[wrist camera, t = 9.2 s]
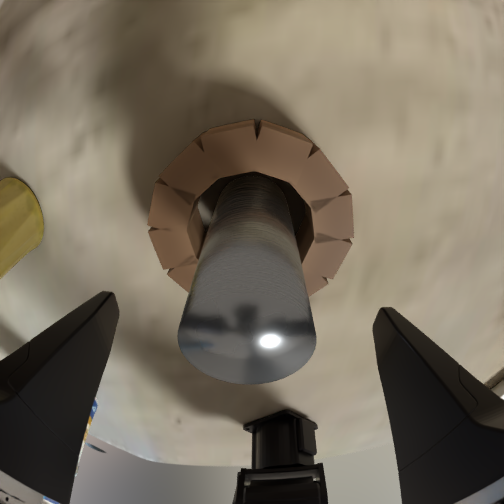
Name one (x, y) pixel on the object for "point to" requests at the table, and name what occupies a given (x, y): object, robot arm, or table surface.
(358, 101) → the table surface
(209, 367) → the grey metal cylinder
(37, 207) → the vase
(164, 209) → the bead ring
